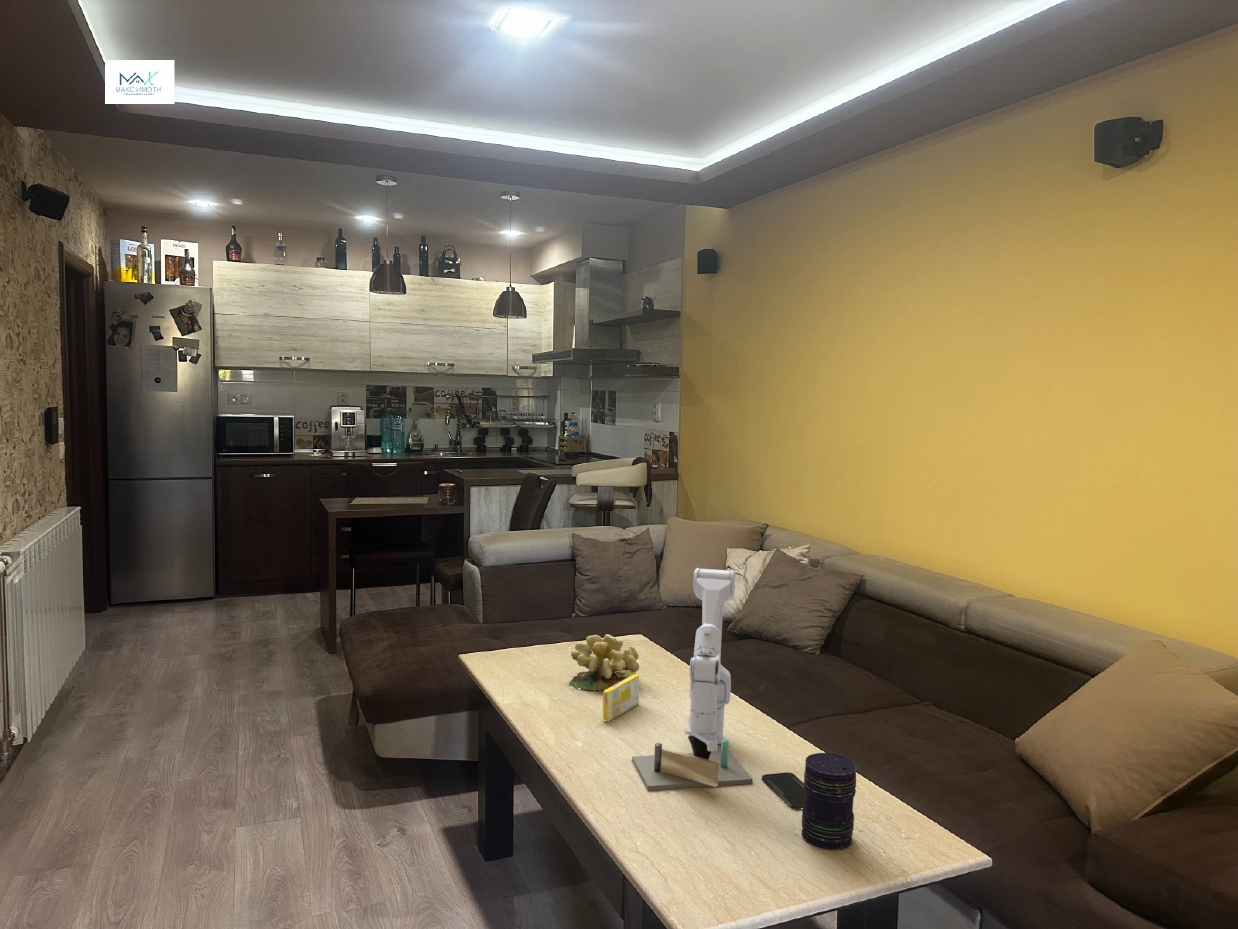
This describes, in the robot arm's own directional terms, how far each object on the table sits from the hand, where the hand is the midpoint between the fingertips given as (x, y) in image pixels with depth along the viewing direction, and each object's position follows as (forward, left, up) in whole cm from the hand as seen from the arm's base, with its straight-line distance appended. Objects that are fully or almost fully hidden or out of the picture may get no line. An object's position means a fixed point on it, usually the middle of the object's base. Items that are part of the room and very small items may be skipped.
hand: (700, 769), depth 186 cm
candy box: (-42, -9, -3) cm, 43 cm away
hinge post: (-4, -9, -3) cm, 10 cm away
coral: (-67, -9, -3) cm, 68 cm away
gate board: (-5, -1, -3) cm, 6 cm away
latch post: (-4, +7, -3) cm, 9 cm away
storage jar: (+27, +17, -3) cm, 32 cm away
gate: (+1, -3, -1) cm, 3 cm away
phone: (+8, +18, -3) cm, 20 cm away
